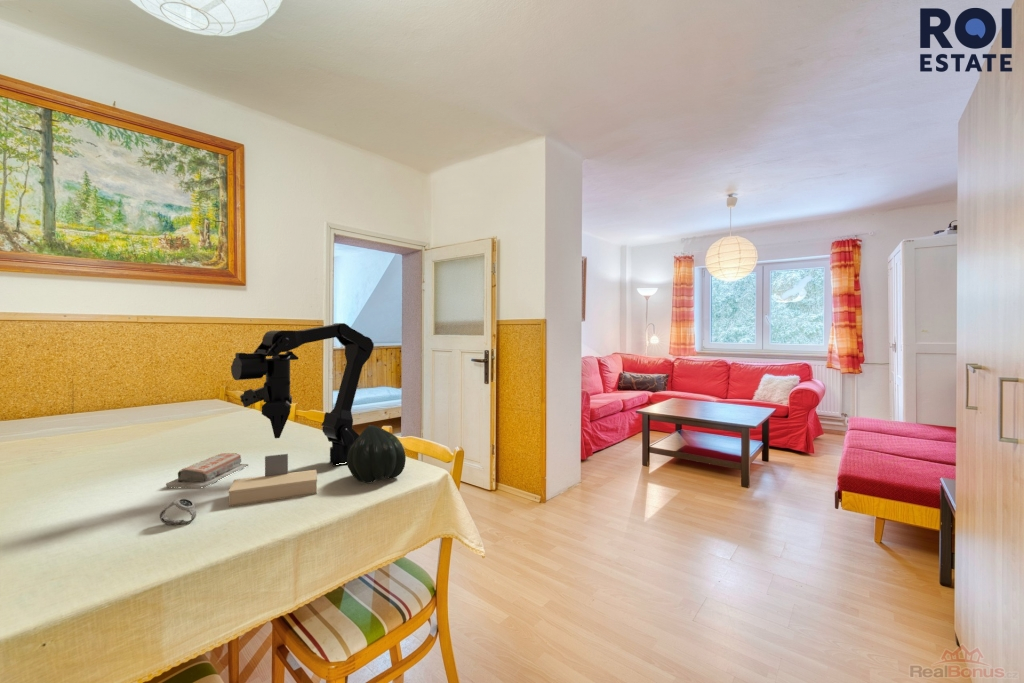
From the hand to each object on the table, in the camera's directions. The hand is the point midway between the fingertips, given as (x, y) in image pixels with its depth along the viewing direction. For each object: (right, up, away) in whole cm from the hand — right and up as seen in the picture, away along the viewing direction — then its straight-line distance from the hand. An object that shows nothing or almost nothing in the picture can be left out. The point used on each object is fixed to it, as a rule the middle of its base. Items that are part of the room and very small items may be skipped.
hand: (277, 435), depth 112 cm
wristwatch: (-6, -13, -26) cm, 29 cm away
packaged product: (-20, -13, +3) cm, 24 cm away
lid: (+5, -9, -10) cm, 14 cm away
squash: (+26, -12, +2) cm, 29 cm away
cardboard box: (+5, -12, -10) cm, 16 cm away
